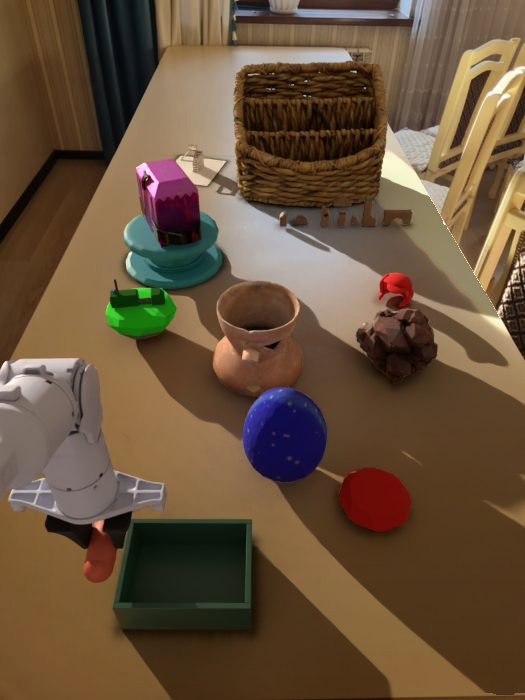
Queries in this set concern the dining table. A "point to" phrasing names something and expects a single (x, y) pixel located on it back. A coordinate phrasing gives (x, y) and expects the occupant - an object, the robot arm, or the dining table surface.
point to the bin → (185, 575)
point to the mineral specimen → (398, 342)
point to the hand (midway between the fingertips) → (105, 540)
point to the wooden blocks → (366, 216)
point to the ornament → (284, 435)
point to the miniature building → (139, 311)
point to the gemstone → (375, 499)
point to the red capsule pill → (99, 555)
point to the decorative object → (170, 230)
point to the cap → (397, 286)
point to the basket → (309, 132)
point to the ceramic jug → (257, 338)
